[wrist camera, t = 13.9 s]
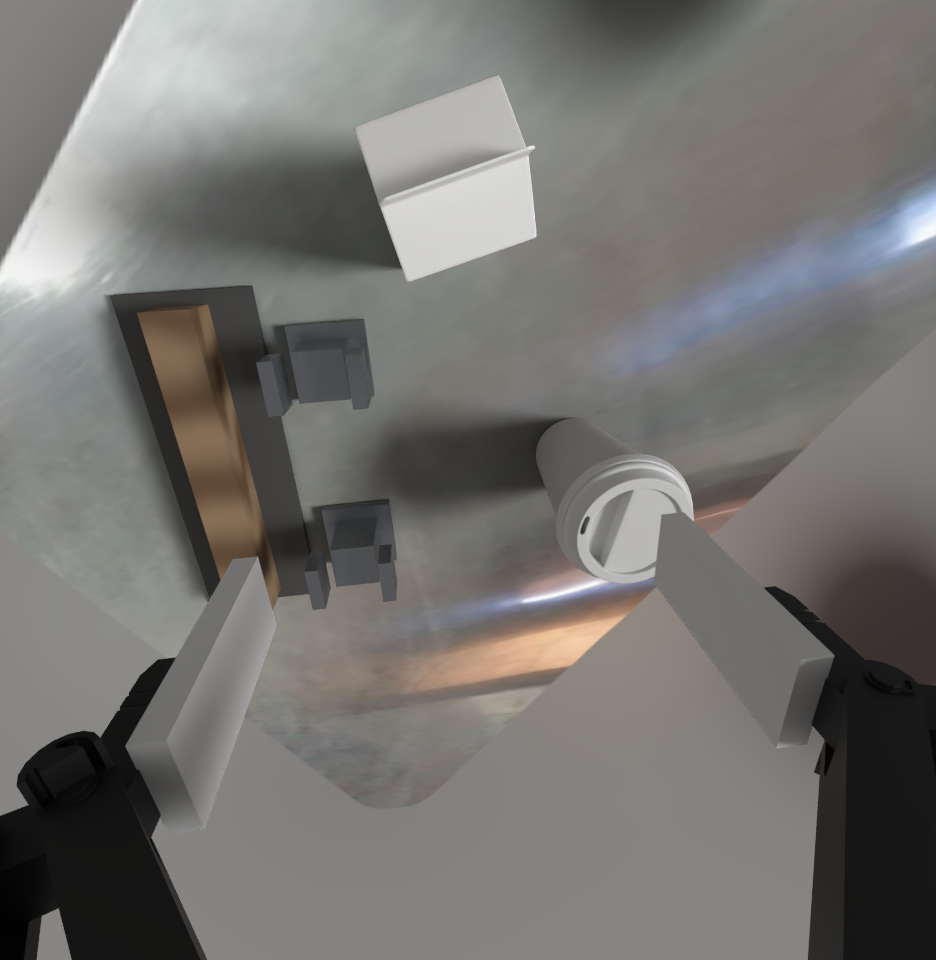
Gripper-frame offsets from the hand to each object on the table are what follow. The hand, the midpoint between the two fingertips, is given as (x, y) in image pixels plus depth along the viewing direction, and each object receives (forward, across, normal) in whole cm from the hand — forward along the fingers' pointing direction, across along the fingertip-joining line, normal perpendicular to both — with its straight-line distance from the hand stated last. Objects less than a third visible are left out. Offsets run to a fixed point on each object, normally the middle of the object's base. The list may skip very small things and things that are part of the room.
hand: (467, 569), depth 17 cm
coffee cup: (+29, +12, -8) cm, 32 cm away
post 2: (+29, -8, -14) cm, 33 cm away
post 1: (+29, -8, +2) cm, 30 cm away
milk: (+29, +1, +12) cm, 31 cm away
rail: (+28, -18, -6) cm, 34 cm away
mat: (+29, -18, -6) cm, 34 cm away
